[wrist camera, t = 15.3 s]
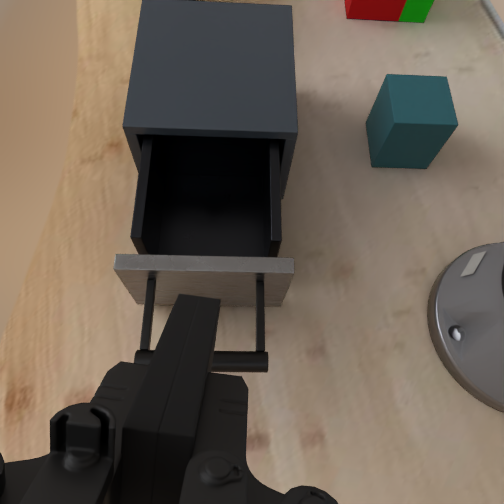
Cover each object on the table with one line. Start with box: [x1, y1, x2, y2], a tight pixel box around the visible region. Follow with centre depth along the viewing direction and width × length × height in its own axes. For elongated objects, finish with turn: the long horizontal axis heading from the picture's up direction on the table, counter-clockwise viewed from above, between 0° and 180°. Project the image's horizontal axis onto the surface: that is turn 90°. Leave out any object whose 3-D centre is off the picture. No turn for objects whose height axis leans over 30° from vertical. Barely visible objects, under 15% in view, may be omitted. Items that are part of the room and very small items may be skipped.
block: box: [366, 74, 458, 169], centre depth 43 cm, size 6×6×7 cm
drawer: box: [114, 134, 294, 372], centre depth 35 cm, size 20×13×8 cm, turn 0°
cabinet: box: [123, 0, 298, 199], centre depth 41 cm, size 15×14×10 cm
